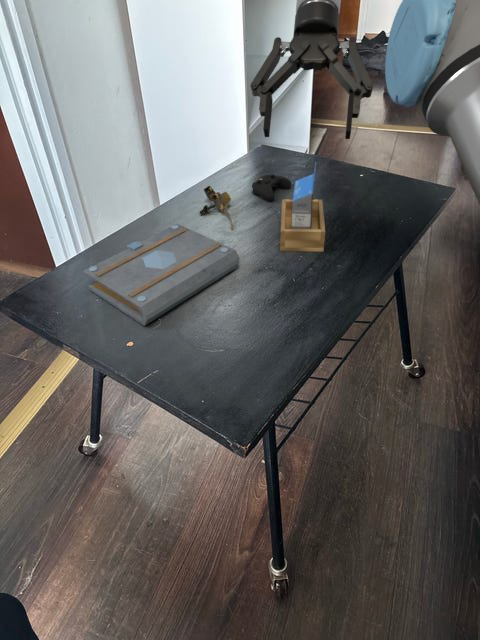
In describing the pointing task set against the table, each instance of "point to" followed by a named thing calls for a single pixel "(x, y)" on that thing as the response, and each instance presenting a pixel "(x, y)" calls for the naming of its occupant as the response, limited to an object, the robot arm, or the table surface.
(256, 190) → the game controller
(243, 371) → the table surface
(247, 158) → the table surface
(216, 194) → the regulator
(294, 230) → the tray
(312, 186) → the blue cardboard box
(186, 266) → the book
